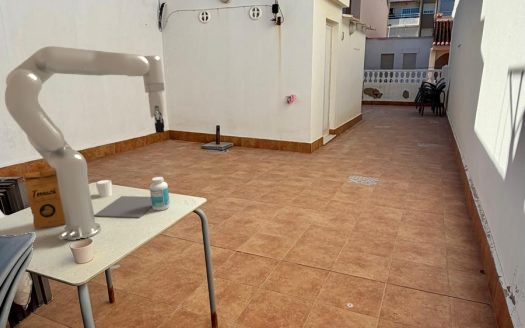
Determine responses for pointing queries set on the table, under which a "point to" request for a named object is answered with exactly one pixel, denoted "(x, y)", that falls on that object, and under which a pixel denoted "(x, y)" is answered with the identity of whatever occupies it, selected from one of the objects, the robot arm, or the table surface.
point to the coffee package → (44, 198)
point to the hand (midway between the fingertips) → (160, 130)
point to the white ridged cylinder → (104, 188)
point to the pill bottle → (159, 194)
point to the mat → (126, 207)
